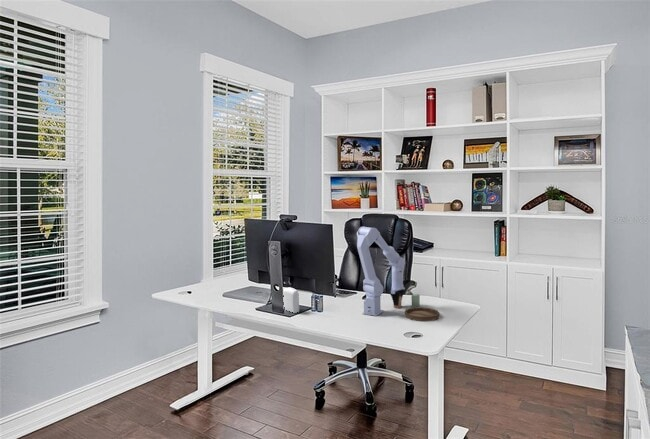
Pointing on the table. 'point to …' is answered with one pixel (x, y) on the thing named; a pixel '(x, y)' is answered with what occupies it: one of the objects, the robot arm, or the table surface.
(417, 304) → the sage green bead
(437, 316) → the tray
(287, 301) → the photo printer
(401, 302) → the terracotta bead
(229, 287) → the table surface
